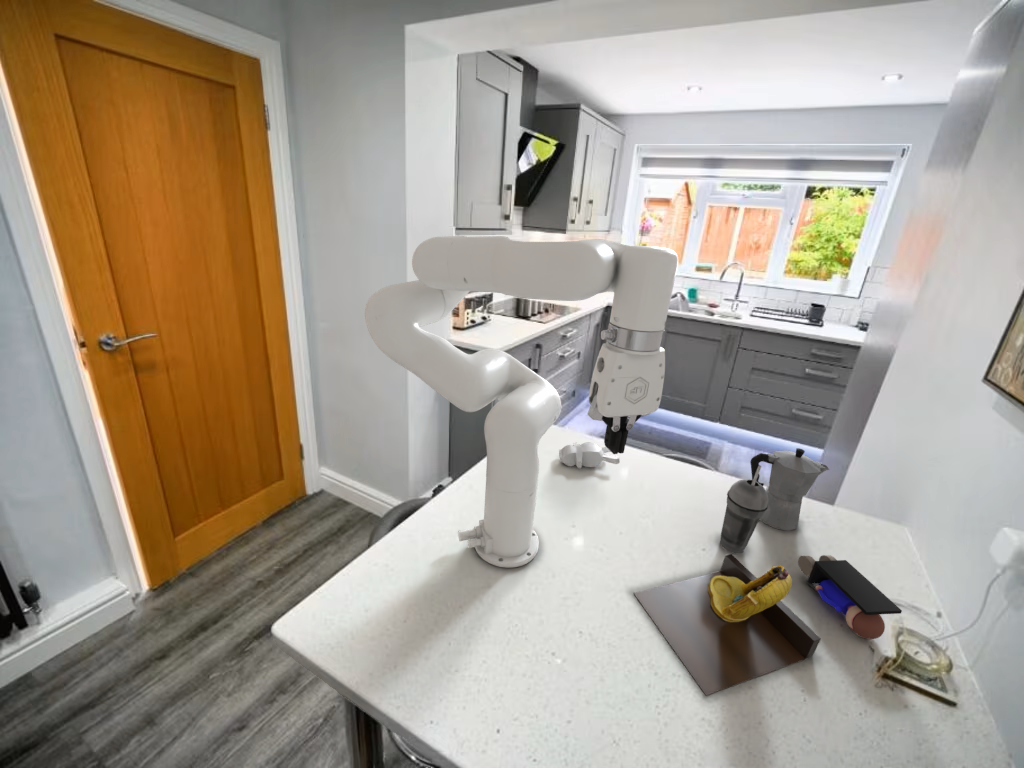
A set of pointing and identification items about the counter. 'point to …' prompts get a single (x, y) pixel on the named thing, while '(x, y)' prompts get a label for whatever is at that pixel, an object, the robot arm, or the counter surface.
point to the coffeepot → (786, 485)
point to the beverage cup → (743, 513)
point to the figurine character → (849, 594)
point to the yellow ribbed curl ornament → (747, 594)
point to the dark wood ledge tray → (726, 632)
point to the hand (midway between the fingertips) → (613, 449)
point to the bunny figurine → (586, 455)
